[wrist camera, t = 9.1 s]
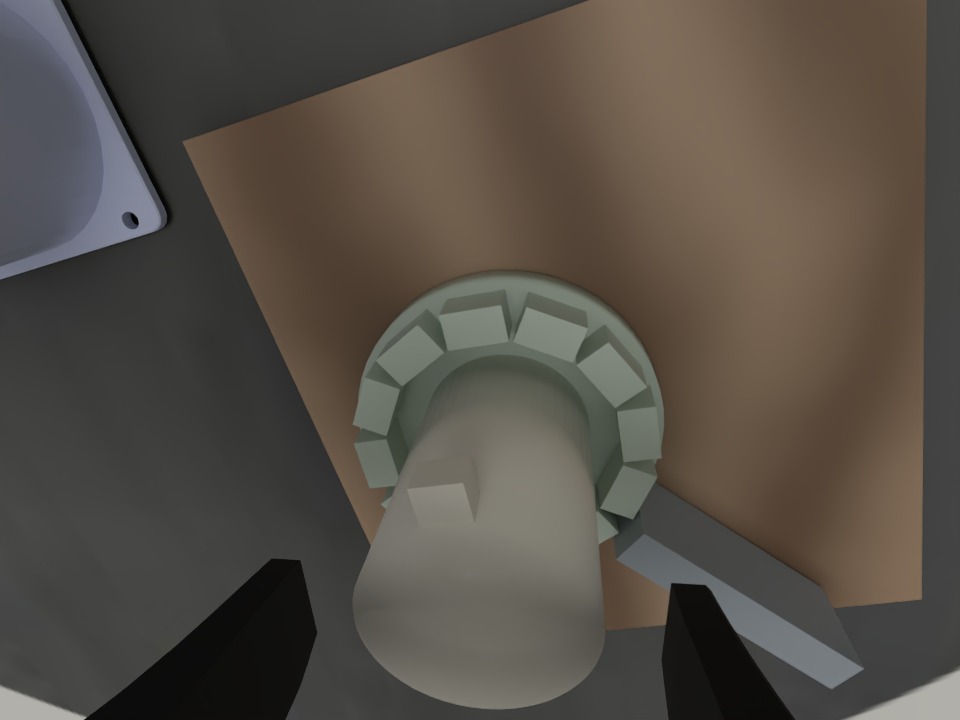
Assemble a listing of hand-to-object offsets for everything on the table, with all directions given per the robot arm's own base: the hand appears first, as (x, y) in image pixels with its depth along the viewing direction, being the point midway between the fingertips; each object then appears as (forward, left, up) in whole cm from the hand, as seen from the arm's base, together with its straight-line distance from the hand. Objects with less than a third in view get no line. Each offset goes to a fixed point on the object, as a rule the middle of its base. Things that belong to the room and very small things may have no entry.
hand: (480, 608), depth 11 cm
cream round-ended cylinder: (0, 0, -7) cm, 7 cm away
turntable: (+2, -2, -8) cm, 8 cm away
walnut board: (+2, 0, -9) cm, 9 cm away
